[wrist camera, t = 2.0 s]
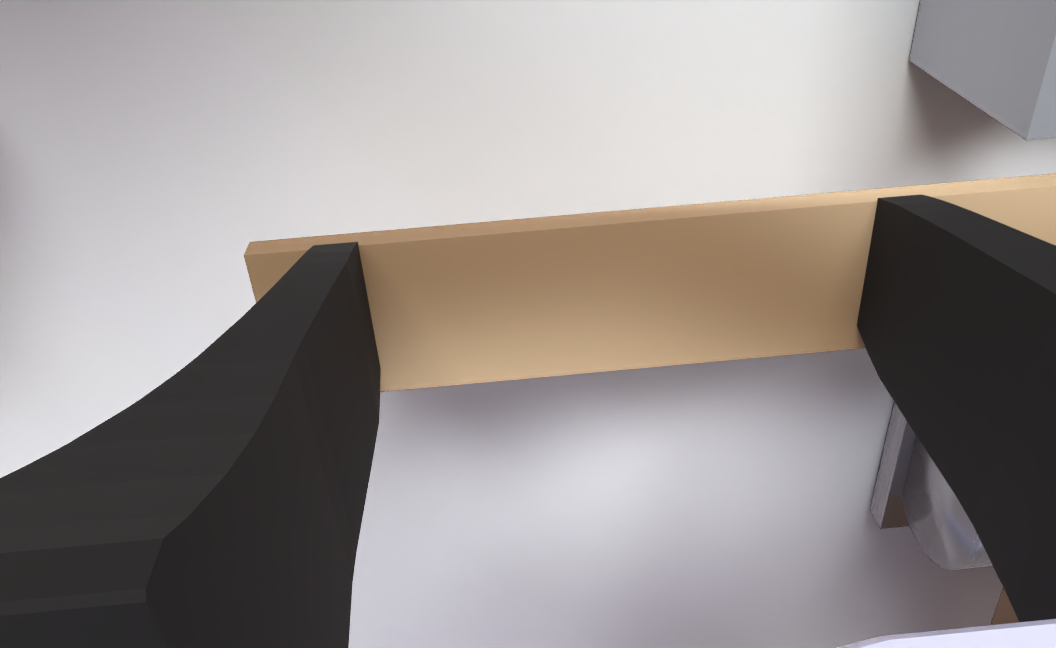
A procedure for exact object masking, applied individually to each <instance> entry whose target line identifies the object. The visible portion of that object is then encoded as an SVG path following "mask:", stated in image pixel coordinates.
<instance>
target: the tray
mask: <svg viewBox="0 0 1056 648" xmlns="http://www.w3.org/2000/svg"><path fill="white" fill-rule="evenodd" d="M909 61H910V62H912V63H913V64H915V65H916V66H918V67H919V68H920V69H922V70H923V71H925V72H926V73H928V74H929V75H931V76H932V77H934V78H935V79H937V80H938V81H940V82H941V83H943V84H944V85H945V86H947V87H948V88H950V89H951V90H953V91H954V92H956V93H957V94H959V95H960V96H962V97H963V98H965V99H966V100H968V101H969V102H971V103H972V104H973V105H975V106H976V107H978V108H979V109H981V110H982V111H984V112H985V113H987V114H988V115H990V116H991V117H993V118H994V119H996V120H997V121H998V122H1000V123H1001V124H1003V125H1004V126H1006V127H1007V128H1009V129H1010V130H1012V131H1013V132H1015V133H1016V134H1018V135H1019V136H1021V137H1022V138H1023V139H1025V140H1035V139H1047V138H1056V0H920V6H919V11H918V16H917V21H916V27H915V32H914V37H913V43H912V48H911V53H910V59H909Z"/></svg>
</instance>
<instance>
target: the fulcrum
mask: <svg viewBox="0 0 1056 648" xmlns="http://www.w3.org/2000/svg"><path fill="white" fill-rule="evenodd" d="M870 511H871V513H872V514H873V516H874V518H875V520H876V522H877V523H878V525H879V527H880V529H883V528H893V527H903V526H910V528H911V530H912V532H913V534H914V536H915V538H916V540H917V542H918V543H919V545H920V547H921V548H922V550H923V551H924V552H925V554H926V555H927V556H928V557H929V558H930V559H931V560H932V561H933V562H934V563H935V564H937V565H938V566H940V567H942V568H944V569H947V570H956V569H966V568H976V567H987V566H993V565H992V563H991V561H990V559H989V557H988V555H987V553H986V551H985V549H984V547H983V545H982V543H981V541H980V539H979V537H978V534H977V532H976V530H975V528H974V526H973V525H972V523H971V521H970V519H969V518H968V516H967V514H966V512H965V511H964V509H963V507H962V506H961V504H960V502H959V501H958V499H957V497H956V495H955V494H954V492H953V491H952V489H951V488H950V486H949V485H948V483H947V482H946V480H945V479H944V477H943V476H942V474H941V472H940V471H939V469H938V468H937V466H936V465H935V463H934V462H933V460H932V459H931V457H930V456H929V454H928V453H927V451H926V449H925V448H924V446H923V445H922V443H921V442H920V440H919V439H918V437H917V436H916V434H915V433H914V431H913V430H912V428H911V427H910V425H909V423H908V422H907V420H906V419H905V417H904V416H903V414H902V413H901V411H900V409H899V408H898V406H897V405H896V403H895V402H894V407H893V411H892V415H891V420H890V424H889V428H888V433H887V437H886V441H885V446H884V450H883V454H882V459H881V463H880V467H879V472H878V476H877V480H876V485H875V489H874V493H873V498H872V502H871V507H870Z"/></svg>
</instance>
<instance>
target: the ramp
mask: <svg viewBox="0 0 1056 648" xmlns="http://www.w3.org/2000/svg"><path fill="white" fill-rule="evenodd" d="M920 194H922V195H926V196H930V197H934V198H937V199H940V200H943V201H946V202H949V203H952V204H955V205H957V206H960V207H963V208H965V209H968V210H970V211H973V212H975V213H978V214H980V215H983V216H985V217H988V218H990V219H993V220H995V221H997V222H1000V223H1002V224H1005V225H1007V226H1009V227H1012V228H1014V229H1017V230H1019V231H1022V232H1024V233H1026V234H1029V235H1031V236H1034V237H1036V238H1038V239H1041V240H1043V241H1046V242H1048V243H1051V244H1053V245H1056V174H1045V175H1033V176H1021V177H1009V178H998V179H986V180H974V181H962V182H951V183H939V184H927V185H915V186H904V187H892V188H880V189H868V190H856V191H845V192H833V193H821V194H809V195H798V196H786V197H774V198H762V199H750V200H739V201H727V202H715V203H703V204H692V205H680V206H668V207H656V208H644V209H633V210H621V211H609V212H597V213H586V214H574V215H562V216H550V217H538V218H527V219H515V220H503V221H491V222H480V223H468V224H456V225H444V226H433V227H421V228H409V229H397V230H385V231H374V232H362V233H350V234H338V235H327V236H315V237H303V238H291V239H279V240H268V241H256V242H250V243H249V245H248V247H247V250H246V252H245V254H244V258H245V262H246V265H247V269H248V273H249V277H250V281H251V284H252V288H253V292H254V296H255V300H256V303H257V302H258V301H259V300H260V299H261V298H262V297H263V296H264V295H265V294H266V293H267V292H268V291H269V290H270V289H271V288H272V287H273V286H274V285H275V284H276V283H277V282H278V281H279V280H280V278H281V277H282V276H283V275H284V274H285V273H286V272H287V271H288V270H289V269H290V268H291V267H292V266H293V265H294V264H295V263H296V262H297V261H298V260H299V259H300V258H301V257H302V256H303V255H304V254H305V253H306V252H307V251H308V250H309V249H310V248H311V247H312V246H313V245H324V244H336V243H347V242H358V246H359V252H360V257H361V263H362V268H363V274H364V279H365V285H366V290H367V296H368V301H369V307H370V313H371V318H372V324H373V329H374V335H375V340H376V346H377V351H378V357H379V362H380V368H381V376H380V392H385V391H396V390H407V389H418V388H429V387H440V386H451V385H462V384H473V383H484V382H495V381H506V380H517V379H528V378H539V377H550V376H562V375H573V374H584V373H595V372H606V371H617V370H628V369H639V368H650V367H661V366H672V365H683V364H694V363H705V362H716V361H727V360H738V359H749V358H760V357H771V356H782V355H793V354H804V353H816V352H827V351H838V350H849V349H860V348H866V347H865V345H864V342H863V340H862V337H861V335H860V333H859V330H858V328H857V320H858V314H859V308H860V302H861V296H862V290H863V284H864V278H865V272H866V266H867V261H868V255H869V249H870V243H871V237H872V231H873V225H874V219H875V213H876V207H877V200H878V198H884V197H896V196H908V195H920ZM1009 623H1019V620H1018V618H1017V616H1016V614H1015V611H1014V609H1013V607H1012V605H1011V603H1010V600H1009V598H1008V596H1007V594H1006V592H1005V589H1004V587H1003V589H1002V592H1001V595H1000V598H999V601H998V604H997V607H996V610H995V613H994V616H993V619H992V622H991V625H998V624H1009Z"/></svg>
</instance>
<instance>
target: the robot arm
mask: <svg viewBox="0 0 1056 648" xmlns="http://www.w3.org/2000/svg"><path fill="white" fill-rule="evenodd" d="M857 328H858V330H859V333H860V335H861V337H862V340H863V342H864V345H865V347H866V350H867V352H868V354H869V356H870V358H871V361H872V363H873V365H874V367H875V369H876V371H877V374H878V376H879V377H880V379H881V381H882V382H883V384H884V386H885V387H886V389H887V391H888V392H889V394H890V395H891V397H892V398H893V400H894V402H895V403H896V405H897V406H898V408H899V409H900V411H901V413H902V414H903V416H904V417H905V419H906V420H907V422H908V423H909V425H910V427H911V428H912V430H913V431H914V433H915V434H916V436H917V437H918V439H919V440H920V442H921V443H922V445H923V446H924V448H925V449H926V451H927V453H928V454H929V456H930V457H931V459H932V460H933V462H934V463H935V465H936V466H937V468H938V469H939V471H940V472H941V474H942V476H943V477H944V479H945V480H946V482H947V483H948V485H949V486H950V488H951V489H952V491H953V492H954V494H955V495H956V497H957V499H958V501H959V502H960V504H961V506H962V507H963V509H964V511H965V512H966V514H967V516H968V518H969V519H970V521H971V523H972V525H973V526H974V528H975V530H976V532H977V534H978V537H979V539H980V541H981V543H982V545H983V547H984V549H985V551H986V553H987V555H988V557H989V559H990V561H991V563H992V565H993V567H994V569H995V571H996V573H997V575H998V577H999V579H1000V581H1001V583H1002V585H1003V587H1004V589H1005V592H1006V594H1007V596H1008V598H1009V600H1010V603H1011V605H1012V607H1013V609H1014V611H1015V614H1016V616H1017V618H1018V620H1019V623H1009V624H998V625H988V626H978V627H968V628H958V629H948V630H937V631H927V632H917V633H907V634H897V635H887V636H878V637H875V638H871V639H867V640H863V641H859V642H855V643H851V644H847V645H843V646H839V647H835V648H1056V245H1053V244H1051V243H1048V242H1046V241H1043V240H1041V239H1038V238H1036V237H1034V236H1031V235H1029V234H1026V233H1024V232H1022V231H1019V230H1017V229H1014V228H1012V227H1009V226H1007V225H1005V224H1002V223H1000V222H997V221H995V220H993V219H990V218H988V217H985V216H983V215H980V214H978V213H975V212H973V211H970V210H968V209H965V208H963V207H960V206H957V205H955V204H952V203H949V202H946V201H943V200H940V199H937V198H934V197H930V196H926V195H922V194H920V195H908V196H896V197H884V198H878V200H877V207H876V213H875V219H874V225H873V231H872V237H871V243H870V249H869V255H868V261H867V266H866V272H865V278H864V284H863V290H862V296H861V302H860V308H859V314H858V320H857ZM380 376H381V368H380V362H379V357H378V351H377V346H376V340H375V335H374V329H373V324H372V318H371V313H370V307H369V301H368V296H367V290H366V285H365V279H364V274H363V268H362V263H361V257H360V252H359V246H358V242H347V243H336V244H324V245H313V246H312V247H311V248H310V249H309V250H308V251H307V252H306V253H305V254H304V255H303V256H302V257H301V258H300V259H299V260H298V261H297V262H296V263H295V264H294V265H293V266H292V267H291V268H290V269H289V270H288V271H287V272H286V273H285V274H284V275H283V276H282V277H281V278H280V280H279V281H278V282H277V283H276V284H275V285H274V286H273V287H272V288H271V289H270V290H269V291H268V292H267V293H266V294H265V295H264V296H263V297H262V298H261V299H260V300H259V301H258V302H257V303H256V304H255V305H254V306H253V307H252V308H251V309H250V310H249V311H248V312H247V313H246V314H245V315H244V316H243V317H242V318H241V319H239V320H238V321H237V322H236V323H235V324H234V325H233V326H232V327H230V328H229V329H228V330H227V331H226V332H225V333H224V334H223V335H221V336H220V337H219V338H218V339H217V340H216V341H215V342H214V343H212V344H211V345H210V346H209V347H208V348H207V349H206V350H205V351H203V352H202V353H201V354H200V355H199V356H198V357H197V358H195V359H194V360H193V361H192V362H190V363H189V364H188V365H187V366H185V367H184V368H183V369H181V370H180V371H179V372H178V373H176V374H175V375H174V376H172V377H171V378H170V379H168V380H167V381H165V382H164V383H163V384H161V385H160V386H158V387H157V388H156V389H154V390H153V391H151V392H150V393H149V394H147V395H146V396H144V397H143V398H142V399H140V400H139V401H137V402H136V403H134V404H133V405H131V406H130V407H128V408H126V409H125V410H123V411H122V412H120V413H118V414H117V415H115V416H113V417H112V418H110V419H108V420H107V421H105V422H103V423H102V424H100V425H98V426H97V427H95V428H93V429H92V430H90V431H88V432H87V433H85V434H83V435H82V436H80V437H78V438H77V439H75V440H73V441H72V442H70V443H68V444H67V445H65V446H63V447H61V448H59V449H57V450H56V451H54V452H52V453H50V454H48V455H46V456H44V457H42V458H40V459H38V460H36V461H34V462H33V463H31V464H29V465H27V466H25V467H23V468H21V469H19V470H17V471H14V472H12V473H10V474H8V475H6V476H4V477H2V478H0V648H348V643H349V627H350V611H351V595H352V581H353V573H354V565H355V557H356V550H357V545H358V539H359V533H360V528H361V522H362V516H363V511H364V505H365V499H366V494H367V488H368V482H369V477H370V471H371V465H372V460H373V454H374V448H375V442H376V436H377V430H378V424H379V407H380Z"/></svg>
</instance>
